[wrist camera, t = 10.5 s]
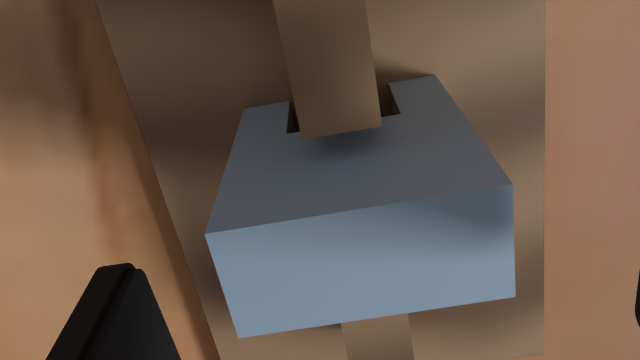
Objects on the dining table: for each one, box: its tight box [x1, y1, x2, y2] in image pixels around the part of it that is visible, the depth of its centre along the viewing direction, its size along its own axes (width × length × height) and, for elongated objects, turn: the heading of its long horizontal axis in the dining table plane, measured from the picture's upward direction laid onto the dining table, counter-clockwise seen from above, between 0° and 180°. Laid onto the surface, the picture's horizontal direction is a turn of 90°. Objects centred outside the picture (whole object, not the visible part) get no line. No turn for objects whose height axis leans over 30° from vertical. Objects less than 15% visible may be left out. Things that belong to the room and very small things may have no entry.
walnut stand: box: [95, 0, 545, 360], centre depth 18 cm, size 24×14×6 cm, turn 10°
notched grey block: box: [205, 75, 516, 338], centre depth 16 cm, size 7×3×8 cm, turn 100°
